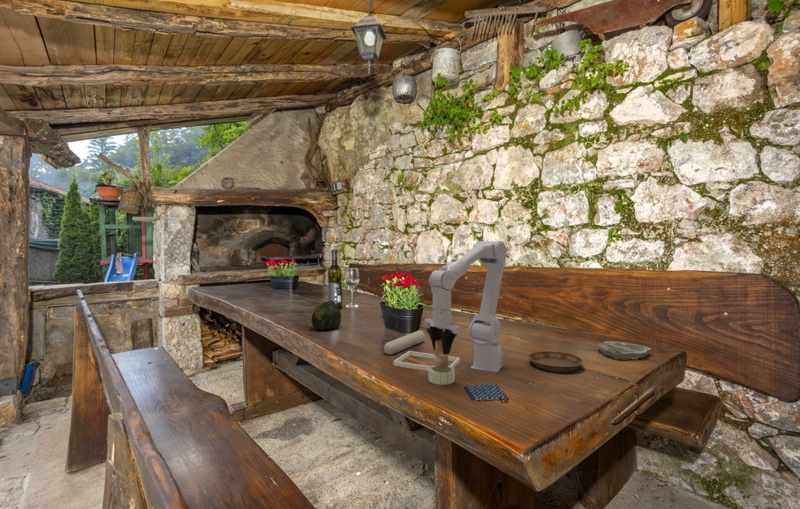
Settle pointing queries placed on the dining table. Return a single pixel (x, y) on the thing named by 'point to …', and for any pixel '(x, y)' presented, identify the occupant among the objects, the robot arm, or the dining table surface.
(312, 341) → the dining table surface
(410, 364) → the beige rectangular frame
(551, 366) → the plant saucer
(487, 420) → the dining table surface
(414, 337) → the tube
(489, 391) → the woven mat
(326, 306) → the squash
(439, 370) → the pale green short ring
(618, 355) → the grey stone slab
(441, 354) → the dowel pin
